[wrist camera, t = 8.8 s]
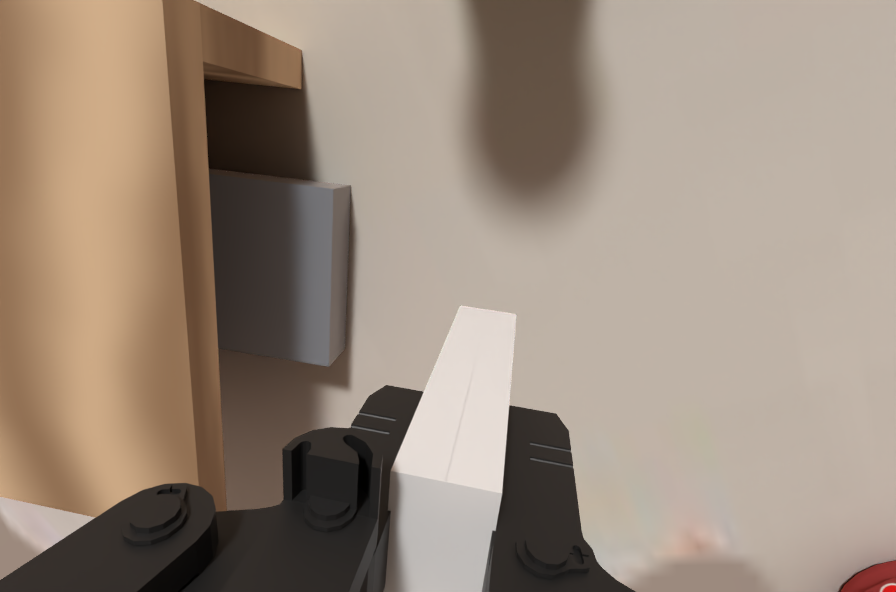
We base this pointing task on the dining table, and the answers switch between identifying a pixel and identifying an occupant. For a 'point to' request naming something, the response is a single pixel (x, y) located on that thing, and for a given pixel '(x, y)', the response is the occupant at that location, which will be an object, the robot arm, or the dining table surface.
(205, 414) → the oak shelf
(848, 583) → the smoothie
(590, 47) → the dining table surface
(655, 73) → the dining table surface
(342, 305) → the slate board
